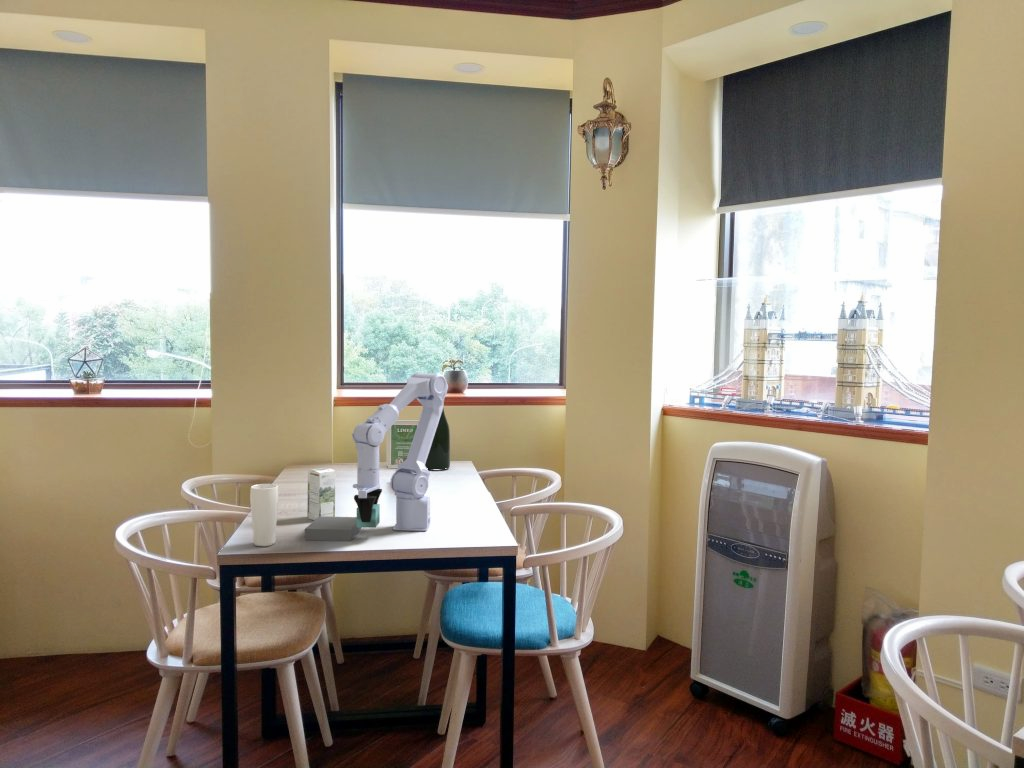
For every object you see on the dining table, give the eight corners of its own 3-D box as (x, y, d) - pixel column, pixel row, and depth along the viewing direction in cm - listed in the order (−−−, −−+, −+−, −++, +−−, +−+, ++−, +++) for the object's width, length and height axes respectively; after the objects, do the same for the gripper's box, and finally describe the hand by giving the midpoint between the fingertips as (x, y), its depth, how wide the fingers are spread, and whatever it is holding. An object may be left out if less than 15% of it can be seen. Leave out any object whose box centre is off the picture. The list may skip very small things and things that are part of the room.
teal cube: (379, 522, 193) (379, 504, 192) (375, 527, 188) (375, 508, 187) (360, 522, 193) (360, 503, 193) (356, 527, 188) (356, 508, 188)
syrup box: (323, 515, 215) (323, 466, 214) (335, 518, 211) (335, 469, 210) (307, 518, 210) (307, 469, 209) (319, 522, 207) (319, 472, 206)
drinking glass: (266, 549, 180) (265, 489, 179) (244, 546, 182) (244, 487, 181) (284, 542, 186) (284, 484, 185) (263, 539, 188) (262, 482, 187)
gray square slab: (361, 527, 201) (361, 517, 201) (350, 540, 188) (350, 529, 188) (319, 526, 201) (319, 516, 201) (305, 539, 188) (305, 528, 188)
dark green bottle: (423, 466, 297) (424, 387, 295) (448, 466, 299) (449, 387, 297) (425, 471, 287) (425, 388, 285) (451, 470, 289) (452, 389, 287)
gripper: (359, 463, 197) (359, 512, 198) (346, 473, 182) (346, 526, 183) (385, 463, 197) (385, 512, 197) (374, 473, 182) (374, 526, 183)
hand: (368, 519), depth 190 cm, fingers closed on teal cube, 5 cm apart
